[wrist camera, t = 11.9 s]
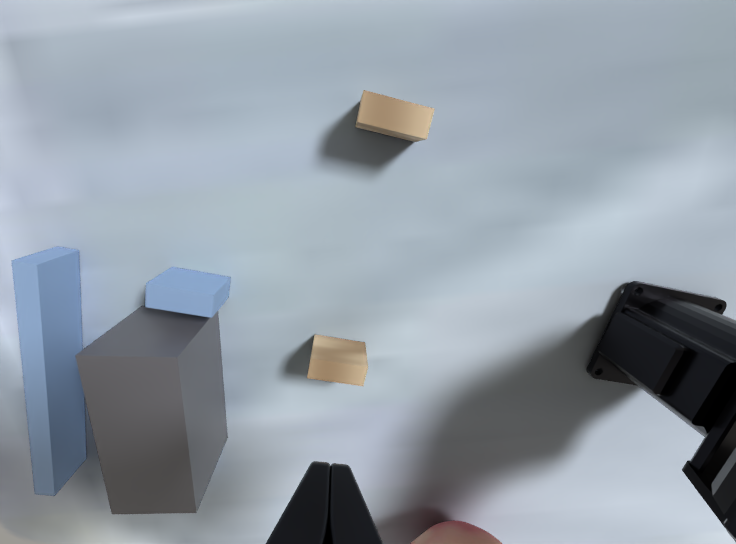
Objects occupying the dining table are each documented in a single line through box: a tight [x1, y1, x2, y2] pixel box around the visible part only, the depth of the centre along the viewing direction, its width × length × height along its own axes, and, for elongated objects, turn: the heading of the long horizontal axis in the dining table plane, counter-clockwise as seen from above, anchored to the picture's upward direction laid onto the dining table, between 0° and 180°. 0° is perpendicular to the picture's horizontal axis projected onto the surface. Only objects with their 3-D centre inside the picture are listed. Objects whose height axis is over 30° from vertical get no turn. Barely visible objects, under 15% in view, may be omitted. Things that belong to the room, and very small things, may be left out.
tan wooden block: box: [307, 90, 434, 386], centre depth 17 cm, size 3×14×2 cm, turn 167°
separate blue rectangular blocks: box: [12, 246, 231, 496], centre depth 19 cm, size 8×14×2 cm, turn 167°
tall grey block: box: [75, 306, 228, 514], centre depth 18 cm, size 4×9×5 cm, turn 176°
